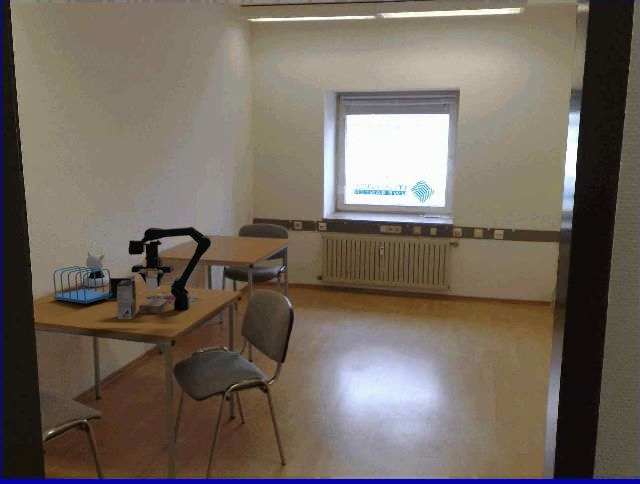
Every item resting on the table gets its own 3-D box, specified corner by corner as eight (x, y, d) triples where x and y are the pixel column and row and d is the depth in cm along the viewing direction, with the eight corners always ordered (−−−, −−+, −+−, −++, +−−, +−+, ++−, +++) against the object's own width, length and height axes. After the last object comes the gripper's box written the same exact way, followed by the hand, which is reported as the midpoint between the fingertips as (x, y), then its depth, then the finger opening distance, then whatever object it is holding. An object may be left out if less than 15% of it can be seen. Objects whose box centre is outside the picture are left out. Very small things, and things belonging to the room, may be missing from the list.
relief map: (201, 300, 291) (200, 297, 291) (177, 306, 279) (177, 302, 279) (170, 293, 306) (169, 289, 306) (146, 298, 294) (146, 294, 294)
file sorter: (53, 299, 289) (50, 270, 287) (82, 292, 304) (79, 264, 302) (85, 303, 276) (82, 273, 274) (114, 296, 291) (111, 267, 289)
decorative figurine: (115, 283, 327) (114, 249, 324) (102, 288, 313) (101, 253, 310) (91, 282, 329) (90, 248, 326) (77, 287, 315) (75, 252, 312)
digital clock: (129, 288, 313) (129, 272, 312) (141, 290, 311) (140, 273, 309) (112, 294, 301) (111, 277, 299) (123, 295, 298) (123, 278, 297)
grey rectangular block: (107, 298, 289) (108, 278, 290) (109, 298, 292) (110, 278, 293) (129, 298, 291) (130, 278, 292) (131, 298, 294) (131, 278, 295)
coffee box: (122, 314, 262) (121, 280, 260) (137, 313, 263) (135, 280, 261) (117, 319, 253) (115, 284, 251) (131, 319, 254) (130, 284, 252)
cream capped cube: (160, 287, 272) (160, 274, 271) (157, 290, 266) (156, 276, 265) (149, 287, 272) (149, 274, 271) (145, 290, 267) (145, 276, 266)
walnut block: (168, 306, 277) (168, 299, 276) (160, 313, 264) (160, 306, 263) (148, 305, 277) (148, 299, 276) (139, 313, 264) (139, 305, 264)
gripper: (176, 251, 274) (177, 283, 277) (138, 251, 275) (140, 282, 277) (169, 255, 263) (170, 288, 266) (130, 255, 264) (131, 287, 266)
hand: (153, 286), depth 269 cm, fingers closed on cream capped cube, 5 cm apart
